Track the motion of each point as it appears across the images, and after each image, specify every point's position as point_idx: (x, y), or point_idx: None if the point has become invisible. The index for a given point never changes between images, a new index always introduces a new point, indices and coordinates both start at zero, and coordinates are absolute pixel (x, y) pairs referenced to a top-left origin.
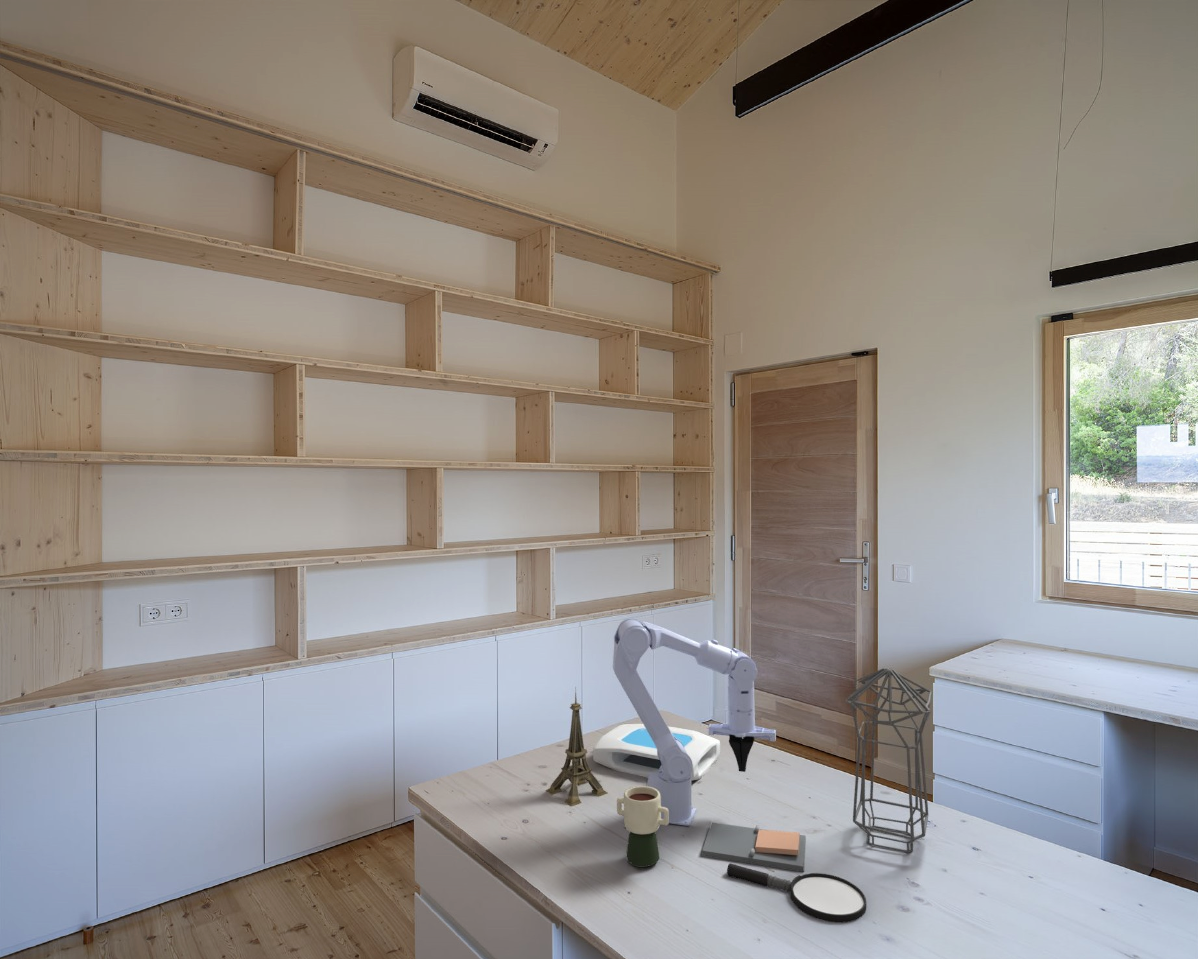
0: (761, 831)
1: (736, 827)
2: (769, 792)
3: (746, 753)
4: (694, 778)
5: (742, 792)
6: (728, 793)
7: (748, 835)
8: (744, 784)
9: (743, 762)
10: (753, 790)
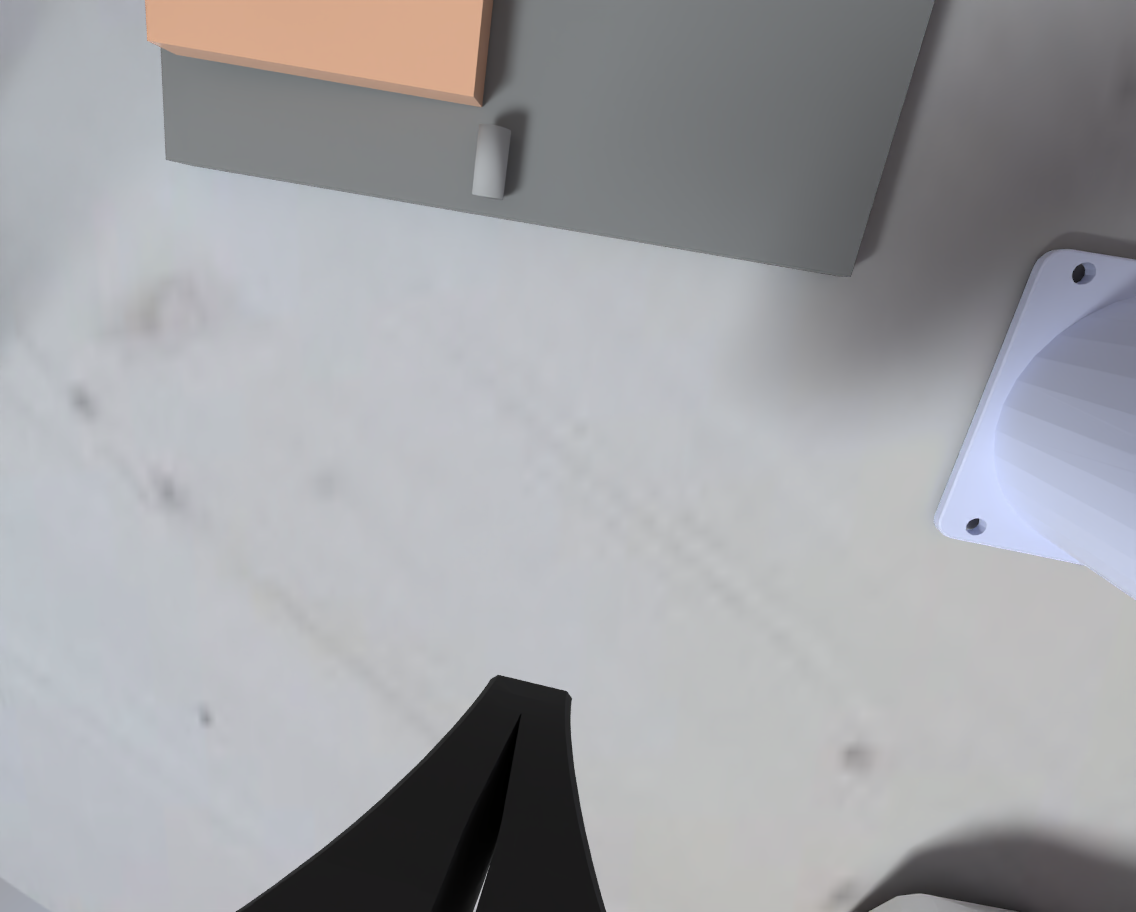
0: (452, 58)
1: (654, 211)
2: None
3: (334, 880)
4: (895, 909)
5: None
6: (662, 760)
7: (567, 78)
8: None
9: (472, 755)
10: None
